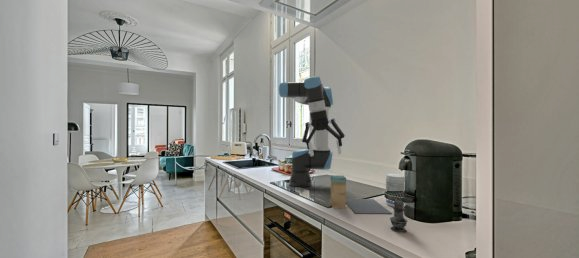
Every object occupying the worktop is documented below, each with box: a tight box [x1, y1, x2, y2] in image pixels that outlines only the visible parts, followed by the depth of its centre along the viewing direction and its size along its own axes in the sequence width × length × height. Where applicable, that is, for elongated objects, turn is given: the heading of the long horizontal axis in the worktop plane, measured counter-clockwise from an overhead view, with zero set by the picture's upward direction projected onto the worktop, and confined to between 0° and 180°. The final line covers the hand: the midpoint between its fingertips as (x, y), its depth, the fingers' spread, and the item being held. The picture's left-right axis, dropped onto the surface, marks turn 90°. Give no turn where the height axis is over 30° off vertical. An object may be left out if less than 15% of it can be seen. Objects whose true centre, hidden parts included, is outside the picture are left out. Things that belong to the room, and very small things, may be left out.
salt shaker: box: [389, 197, 409, 234], centre depth 88 cm, size 6×6×12 cm
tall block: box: [330, 174, 347, 209], centre depth 116 cm, size 6×6×14 cm
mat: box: [346, 198, 393, 215], centre depth 116 cm, size 22×16×1 cm
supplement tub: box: [385, 173, 405, 208], centre depth 118 cm, size 10×10×15 cm
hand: (325, 154), depth 115 cm, fingers open, 13 cm apart
